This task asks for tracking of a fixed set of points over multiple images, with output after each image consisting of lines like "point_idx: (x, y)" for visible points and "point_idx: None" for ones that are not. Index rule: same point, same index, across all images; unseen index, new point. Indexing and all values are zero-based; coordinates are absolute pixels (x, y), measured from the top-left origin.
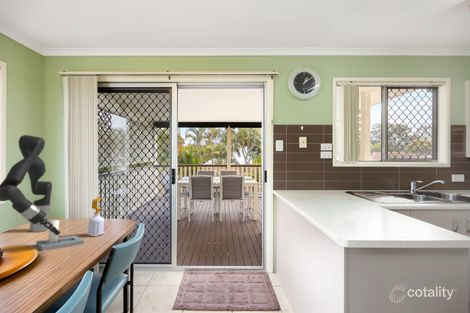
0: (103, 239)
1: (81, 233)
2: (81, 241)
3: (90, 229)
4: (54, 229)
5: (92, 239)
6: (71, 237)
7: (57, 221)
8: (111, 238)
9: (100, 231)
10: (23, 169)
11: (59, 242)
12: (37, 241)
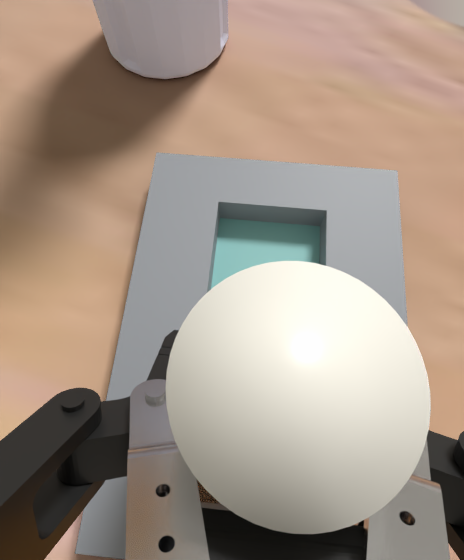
0: (344, 49)
1: (27, 85)
2: (395, 194)
3: (177, 15)
4: (442, 448)
5: (287, 98)
6: (205, 208)
7: (415, 343)
8: (353, 7)
9: None
10: None
11: None
12: (104, 549)
